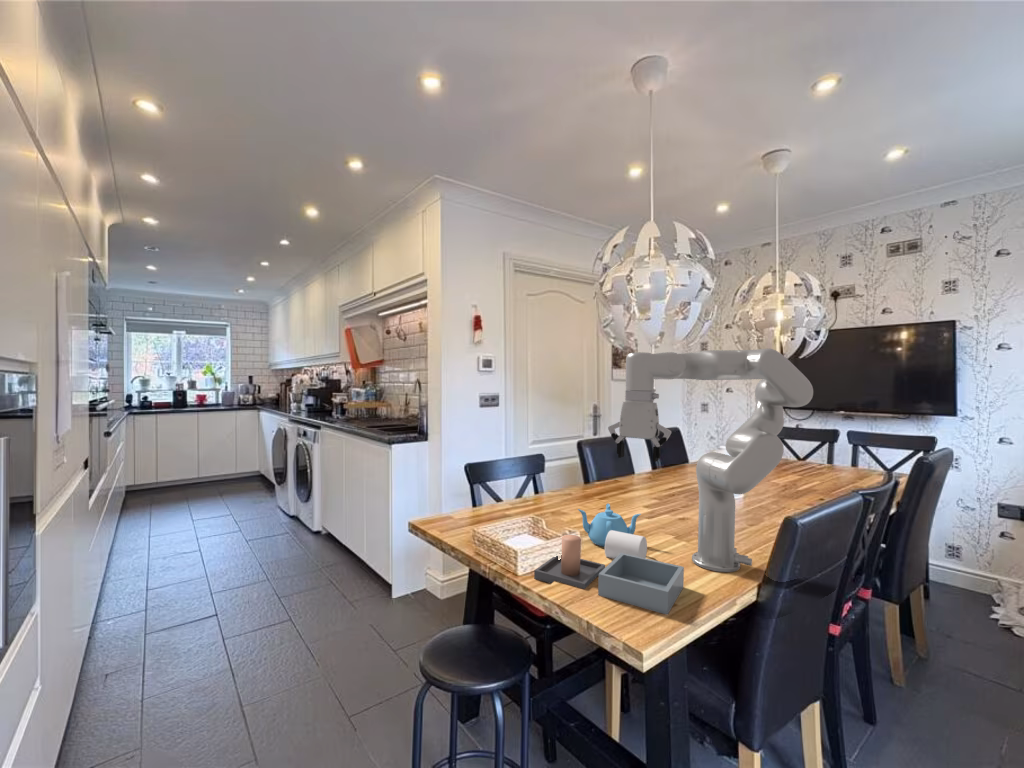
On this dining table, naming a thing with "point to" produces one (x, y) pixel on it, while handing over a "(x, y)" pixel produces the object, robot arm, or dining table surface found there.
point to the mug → (625, 544)
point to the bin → (642, 582)
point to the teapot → (606, 525)
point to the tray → (553, 573)
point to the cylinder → (571, 555)
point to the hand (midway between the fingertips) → (638, 459)
